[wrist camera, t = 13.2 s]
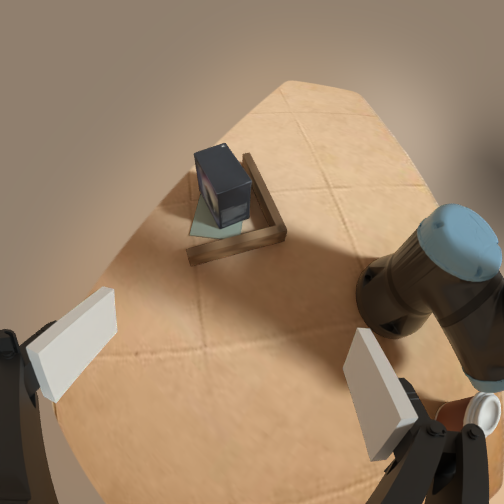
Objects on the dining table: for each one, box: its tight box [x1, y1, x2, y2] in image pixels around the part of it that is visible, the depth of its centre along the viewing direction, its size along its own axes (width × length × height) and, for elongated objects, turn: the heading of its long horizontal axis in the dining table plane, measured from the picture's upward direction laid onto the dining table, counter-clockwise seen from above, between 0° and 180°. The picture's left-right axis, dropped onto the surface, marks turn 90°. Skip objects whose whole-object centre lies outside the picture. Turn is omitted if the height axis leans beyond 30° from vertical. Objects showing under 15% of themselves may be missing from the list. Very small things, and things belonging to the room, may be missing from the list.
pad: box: [190, 194, 243, 239], centre depth 53 cm, size 9×13×1 cm
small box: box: [194, 143, 252, 229], centre depth 48 cm, size 11×6×10 cm, turn 28°
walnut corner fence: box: [186, 153, 287, 266], centre depth 51 cm, size 17×20×4 cm
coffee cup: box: [434, 392, 501, 438], centre depth 30 cm, size 9×9×12 cm
